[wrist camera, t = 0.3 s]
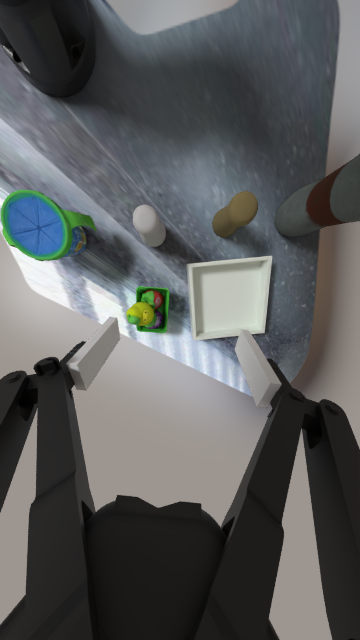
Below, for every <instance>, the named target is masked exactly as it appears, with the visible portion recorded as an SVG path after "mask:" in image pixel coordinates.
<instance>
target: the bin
mask: <svg viewBox="0 0 360 640" xmlns="http://www.w3.org/2000/svg"><path fill="white" fill-rule="evenodd" d="M271 264H272V256H264V257H254V258H244V259H233V260H223V261H213V262H203V263H193V264H187V277H188V290H189V304H190V318H191V331H192V337H193V340H203V339H212V338H221V337H231V336H239V335H240V332H241V329H244V330H249V331H250V333H251V334H258V333H265V324H266V314H267V304H268V294H269V284H270V274H271Z"/></svg>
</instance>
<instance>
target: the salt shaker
mask: <svg viewBox="0 0 360 640" xmlns="http://www.w3.org/2000/svg"><path fill="white" fill-rule="evenodd" d="M133 224H134V226H135V229H136V230H137V231H138V232H139V233H140V236H141V239H142V241H143V242H144V243H145V244H146V245H148V246H150V247H158V246H159V245H161V244H162V243H163V241H164V240H165V238H166V230H165V227H164V224H163V223H162V222H161V221H160V220H159V217H158V214H157V212H156V211H155V210H154V209H153V208H152V207H150V206H148V205H140V206H139V207H137V208H136V209H135V211H134V213H133Z"/></svg>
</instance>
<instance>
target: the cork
mask: <svg viewBox="0 0 360 640" xmlns="http://www.w3.org/2000/svg"><path fill="white" fill-rule="evenodd" d="M257 210H258V202H257V199H256V197H255V195H254V194H252V193H251V192H248V191H243V192H240V193H238V194H236V195H235V196H234V197H233V198H232V199H231V201H230V203H229V205H228V206H226V207H224V208H223V209H221V210H219V211H218V212H217V213H216V214H215V216H214V218H213V222H212V225H213V230H214V232H215V233H216V235H218V236H219V237H222V238H225V237H229V236H231V235H232V234H233V233H234V232H235V231H236V230H237V229H238V228H239V227H241V226H245V225H247V224H249V223H250V222H251V221H252V220H253V219H254V217H255V215H256V213H257Z"/></svg>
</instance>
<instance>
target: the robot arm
mask: <svg viewBox="0 0 360 640" xmlns="http://www.w3.org/2000/svg"><path fill="white" fill-rule="evenodd" d="M0 44H1V46H2V48H3V49H4V51H5V52H6V54H7V55H8V56H9V58H10V59H11V60H12V62H13V63H14V64H15V66H16V67H17V68H18V69H19V71H20V72H21V73H22V74H23V76H24V77H25V78H26V79H27V80H28V81H29V82H30V83H31V84H32V85H34V86H35V87H36V88H38V89H39V90H41V91H43V92H45V93H47V94H49V95H53V96H58V97H65V96H70V95H72V94H74V93H76V92H78V91H79V90H80V89H81V88H82V87H83V86H84V85H85V84H86V82H87V80H88V79H89V77H90V74H91V72H92V69H93V65H94V59H95V35H94V28H93V24H92V20H91V16H90V13H89V10H88V6H87V3H86V0H0ZM119 340H120V334H119V327H118V321H117V318H114V317H110V318H109V319H108V320H107V321H106V322H105V323H104V324H103V325H102V326H101V327H100V328H99V329H98V330H97V331H96V332H95V333H94V334H93V336H92V337H91V338H90V339H89V340H88V341H87V342H83V341H82V342H81V343H79V344H77V345H76V346H75V347H74V348H73V349H72V350H71V351H70V352H69V353H68V354H67V355H66V356H65V357H64V358H63V359H62V360H61V361H60V362H59V360H58V358H56V357H48V358H45V359H43V360H40V361H39V362H37V363H36V364H35V365H34V370H35V372H36V374H33V375H27V374H26V372H25V371H15V372H12V373H10V374H7V375H6V376H4V377H3V378H2V379H1V380H0V512H1V509H2V507H3V504H4V501H5V498H6V495H7V492H8V489H9V487H10V484H11V481H12V478H13V475H14V473H15V470H16V467H17V464H18V461H19V458H20V456H21V453H22V450H23V447H24V444H25V441H26V439H27V436H28V433H29V430H30V427H31V424H32V422H33V419H34V416H35V413H36V410H37V407H38V417H37V418H38V420H37V468H36V469H37V471H36V497H35V500H34V502H33V503H32V504H31V507H30V512H29V529H28V554H27V576H26V595H25V596H24V597H23V598H22V600H21V601H20V602H19V603H18V604H17V606H16V607H15V608H14V609H13V611H12V612H11V613H10V614H9V615H8V617H7V618H6V619H5V620H4V621H3V622H2V624H1V625H0V640H279V638H278V636H277V634H276V632H275V630H274V628H273V626H272V624H271V622H270V620H269V613H270V608H271V602H272V598H273V592H274V587H275V582H276V577H277V572H278V566H279V561H280V556H281V551H282V546H283V538H284V530H283V527H282V517H283V512H284V507H285V502H286V498H287V493H288V489H289V484H290V479H291V475H292V470H293V465H294V460H295V456H296V451H297V446H298V442H299V436H300V432H301V428H302V433H303V440H304V448H305V456H306V463H307V472H308V479H309V487H310V495H311V503H312V511H313V518H314V526H315V534H316V541H317V550H318V557H319V565H320V573H321V581H322V589H323V595H324V601H325V606H326V613H327V617H328V622H329V627H330V630H331V635H332V640H360V449H359V447H358V444H357V442H356V439H355V436H354V434H353V431H352V429H351V426H350V424H349V421H348V418H347V416H346V414H345V412H344V411H343V410H342V408H341V407H339V406H338V405H337V404H335V403H333V402H332V401H329V400H326V399H322V400H321V401H320V402H319V403H317V402H315V401H312V400H308V399H306V398H305V396H304V395H303V394H302V393H301V392H299V391H298V390H296V389H294V388H292V387H291V385H290V384H289V382H288V381H287V379H286V378H285V376H284V375H283V373H282V372H281V370H280V369H279V367H278V366H277V364H276V363H275V362H274V361H273V360H272V359H267V358H265V356H264V354H263V353H262V351H261V349H260V348H259V346H258V344H257V343H256V341H255V340H254V338H253V336H252V335H251V333H250V331H249V330H244V329H241V332H240V335H239V338H238V341H237V344H236V347H235V352H236V354H237V357H238V359H239V362H240V364H241V367H242V370H243V372H244V375H245V377H246V380H247V383H248V385H249V388H250V390H251V393H252V395H253V398H254V400H255V403H256V406H257V407H262V408H267V407H268V406H269V404H271V406H272V410H271V412H270V413H269V415H268V419H267V422H266V424H265V427H264V429H263V431H262V434H261V436H260V438H259V441H258V443H257V446H256V448H255V450H254V452H253V455H252V457H251V460H250V462H249V464H248V467H247V469H246V472H245V474H244V476H243V479H242V481H241V484H240V486H239V488H238V491H237V493H236V496H235V498H234V500H233V503H232V505H231V507H230V509H229V511H228V512H227V515H226V516H225V519H224V521H223V523H222V526H221V527H220V526H219V525H218V523H217V522H216V521H215V520H214V519H213V518H212V517H211V516H210V515H209V514H208V513H207V512H205V511H203V510H202V509H201V504H200V503H191V502H181V501H180V502H177V503H174V504H171V505H167V506H164V507H161V508H157V507H155V506H153V505H151V504H149V503H147V502H145V501H144V500H142V499H140V498H138V497H132V496H122V495H117V498H116V501H113V502H111V503H109V504H106V505H105V506H103V507H102V508H100V509H99V510H98V511H97V512H95V507H94V502H93V499H92V495H91V492H90V489H89V483H88V477H87V472H86V466H85V460H84V455H83V450H82V444H81V438H80V432H79V427H78V421H77V416H76V410H75V404H74V399H73V394H72V390H71V389H72V387H73V386H74V385H75V387H76V389H77V390H87V389H88V387H89V386H90V384H91V383H92V381H93V380H94V378H95V377H96V375H97V373H98V372H99V370H100V369H101V367H102V366H103V364H104V363H105V361H106V360H107V358H108V357H109V355H110V353H111V352H112V351H113V349H114V347H115V346H116V344H117V343H118V341H119Z"/></svg>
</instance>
